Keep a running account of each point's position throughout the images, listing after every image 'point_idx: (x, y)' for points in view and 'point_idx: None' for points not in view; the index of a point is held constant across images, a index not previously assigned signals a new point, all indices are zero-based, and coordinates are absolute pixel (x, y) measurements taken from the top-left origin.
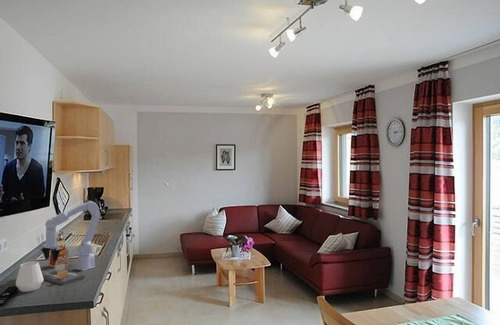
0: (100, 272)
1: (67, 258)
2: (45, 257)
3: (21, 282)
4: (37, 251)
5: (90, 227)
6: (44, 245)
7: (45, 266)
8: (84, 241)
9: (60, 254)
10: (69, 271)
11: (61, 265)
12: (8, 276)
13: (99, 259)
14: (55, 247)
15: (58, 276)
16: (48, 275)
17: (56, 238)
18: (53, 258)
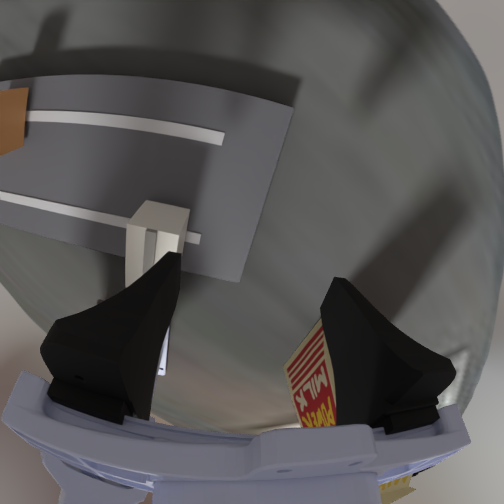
0: (21, 300)
1: (291, 394)
2: (344, 293)
3: None
4: (475, 386)
5: None
6: (417, 460)
7: (398, 313)
8: (59, 484)
9: (321, 404)
10: (90, 244)
11: (127, 257)
12: (491, 113)
13: (198, 419)
14: (39, 428)
15: (10, 89)
16: (156, 104)
17: (390, 495)
18: (151, 268)
